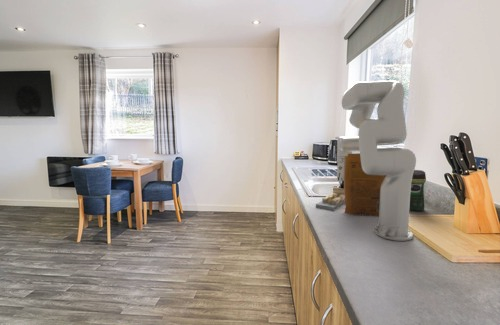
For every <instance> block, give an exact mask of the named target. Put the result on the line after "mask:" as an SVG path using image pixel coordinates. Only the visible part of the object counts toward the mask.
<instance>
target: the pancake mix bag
mask: <svg viewBox="0 0 500 325" xmlns="http://www.w3.org/2000/svg"><path fill="white" fill-rule="evenodd" d="M343 177H344V192H345V204H344V205H345V208H344V213H345V214H348V215H352V216H372V217H379V205H380V187H381V183H382V181H383V180H384V178H385V177H386V175H367V174H366V173H365V172H364V171H363V169H362V166H361V158H360V152H358V153H357V152H356V153H352V154H348V156H345V158H344V175H343Z"/></svg>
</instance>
